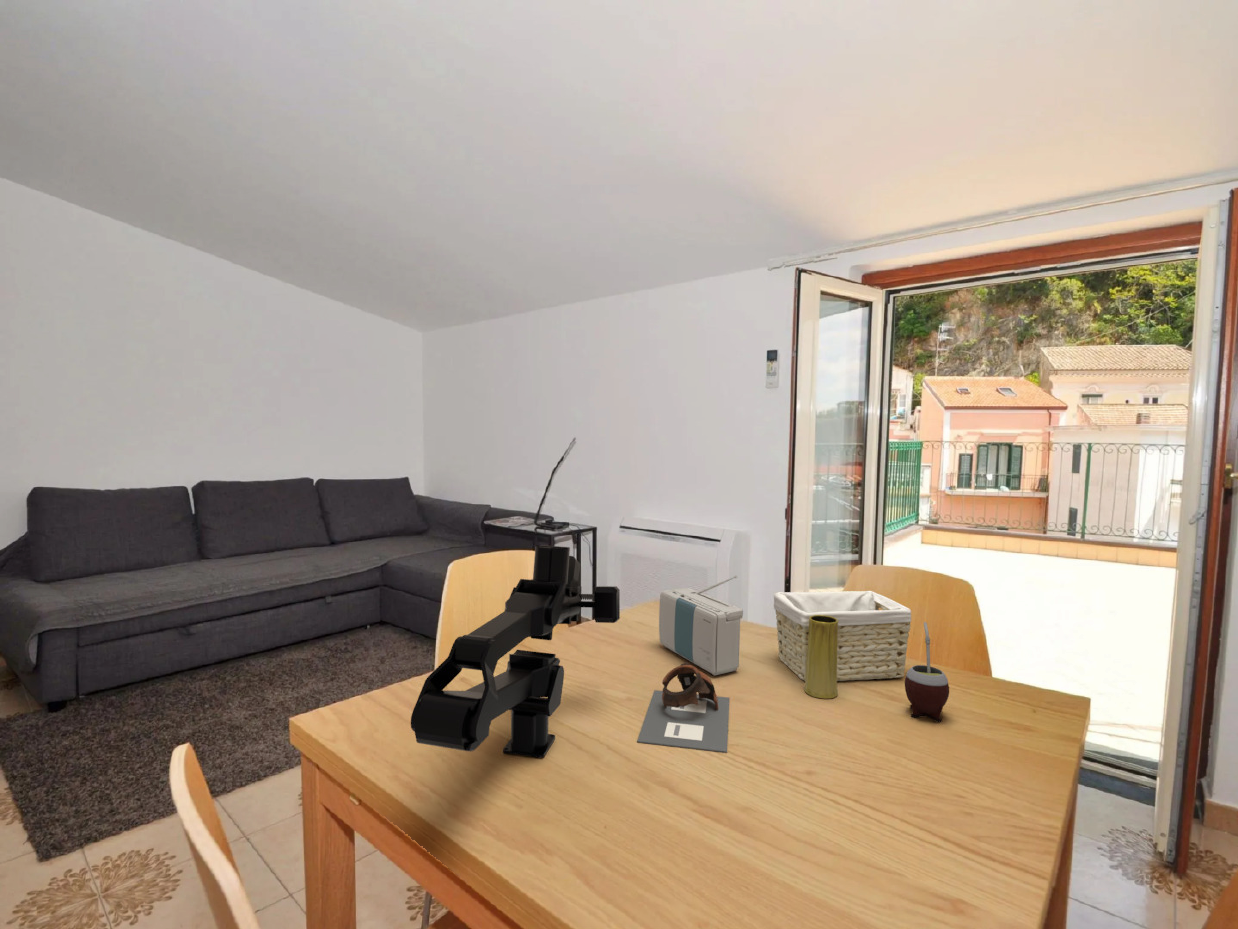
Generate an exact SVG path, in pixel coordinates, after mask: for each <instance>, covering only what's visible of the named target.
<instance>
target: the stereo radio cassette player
mask: <svg viewBox="0 0 1238 929" xmlns="http://www.w3.org/2000/svg"><path fill="white" fill-rule="evenodd" d="M737 578H738V575H734V576H733V577H731V578H728V579H726V580H724V581H720V582H718V583H716V584H713V585H711V586H709V587H707V588H704V589H702V590H700V591H698V590H695V589H692V588H690V587H688V588H675V589H668V590H662V591H661V592H660V597H659V610H658V611H659V612H658V634H659V642H660V644H661V645H662V646H664V647H665V648H666V649H668V650H670V651H672V652H673V653H675V654H676V655H678V656H680V657H682V658H683V659H686V660H687V661H689V662H691V663H692V664H694V665H696V666H697V667H699V668H701V669H702V670H704V671H706V672H708V673H709V674H711V675H713V676H715V677H716V676H719V675H723V674H726V673H731V672H735V671H737V670H738V668H739V667H740V644H741V642H740V640H741V620H742V619H743V616H744V610H743V609H742V608H740V607H737V606H734V605H733V604H730V603H727V602H725V601H723V600H720V599H718V598H715V597H713V596H710V595H708V594H706V593H705V592H707V591H709V590H712V589H714V588H717V587H719V586H720V585H723V584H726V583H727V582H729V581H731V580H733V579H737Z"/></svg>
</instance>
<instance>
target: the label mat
mask: <svg viewBox="0 0 1238 929" xmlns="http://www.w3.org/2000/svg"><path fill="white" fill-rule="evenodd" d="M652 693H653V694H652V695H651V699H650V701H649V702H650V703H649V705H648V709H647V711H646V714H645V716H644V719H643V723H642V725H641V727H640V731H639V734H638V737H637V740H636V743H638V744H639V743H641V744H648V745H658V746H666V747H673V748H680V749H681V748H682V749H690V748H691V750H698V749H700V750H701V751H710V752H716V751H717V752H718V753H726V754H728V744H729V743H728V742H729V741H728V740H729V738H728V737H729V736H728V735H729V718H730V696H729V697H728V696H727V697H726V696H717V700H718V710H716V708H715V703H714V701H712V700H710V699H707V698H701V699H700V698H699V693H697V700H698V704H699V705H695V704H689V705H686V706H680V707H678V708H676V707H671V706H667V707H666V708H665V707H664V704H663V700H662V693H663V690H658V689H654V690H653V692H652Z"/></svg>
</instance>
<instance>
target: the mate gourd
mask: <svg viewBox="0 0 1238 929" xmlns="http://www.w3.org/2000/svg"><path fill="white" fill-rule="evenodd" d="M923 627H924V633H925V638H924V640H925V643H924V644H926V645H925V646H926V649H925V650H926V665H922V664H920V665H919V664H918V665H913V666H911V667H910V668H909V669H908V670H907V672H906V674H905V678H904V689H905V690H904V691H905V694H906V697H907V700H908V701H909V703H910V704H909V709H911V711H912V713H910V717H911V718H913V719H917V718H919V719H920V718H923V717H926V718H928V719H930V720H932V721H933V722H936V723H938V724H939V723H942V718H941V715H942V712H943V709H944V706H945V705H946V704H947V702H948V699H949V696H950V686H949V679H948V678H947V675H946V674H945V673H944V671H942V670H941V669H940V668H937V667H935V666H934V667H933V666H931V650H930V647H931V646H930V644H931V638H930V635H929V629H928V623H927V622H926V621H925V622H923Z"/></svg>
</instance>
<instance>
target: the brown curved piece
mask: <svg viewBox="0 0 1238 929" xmlns="http://www.w3.org/2000/svg"><path fill="white" fill-rule="evenodd" d="M674 678H677V680H678V682H679V683H680V685H681V688H682V690H681V691H676V692H675V691H671V690H669V689H668V686H669V684H670V682H671V681H672V680H674ZM712 681H713V680H711V678H710V677H709V676H708V675H707V674H706V673H704V672H702V671H701V670H699V669H698V668H697V667H696V666H694V665H692V664H690V663H689V662H686V661H685V662H683V663H681V664H680V665H678V666H675V667H674V668H672V669H671V670H670V671H668V672H667V673H666V675H665V676H664V677H663V679H662V682H661V683H662V685H663V688H662V691H663V693H662V700H663V704H664V707H665V708H666V707H667V706H671V707H676V708H678V707H680V706H686V705H689V704H695V705H699V704H698V700H697V694H699V698H700V699H701V698H707V699H710V700H712V701H714V703H715V708H716V710H718V700H717V693H716V689H715V685H714V684H713V682H712Z"/></svg>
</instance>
